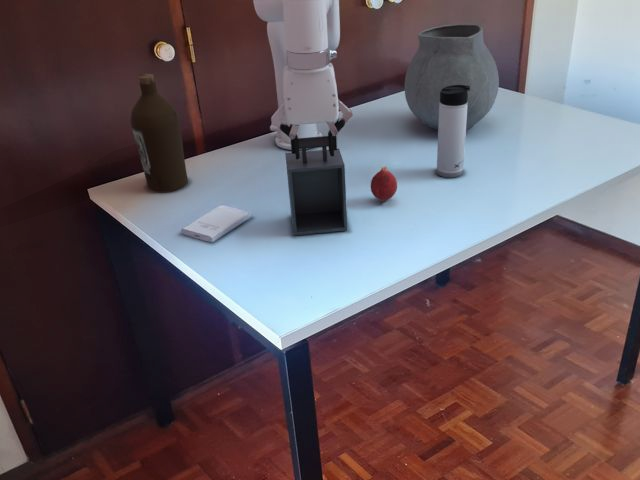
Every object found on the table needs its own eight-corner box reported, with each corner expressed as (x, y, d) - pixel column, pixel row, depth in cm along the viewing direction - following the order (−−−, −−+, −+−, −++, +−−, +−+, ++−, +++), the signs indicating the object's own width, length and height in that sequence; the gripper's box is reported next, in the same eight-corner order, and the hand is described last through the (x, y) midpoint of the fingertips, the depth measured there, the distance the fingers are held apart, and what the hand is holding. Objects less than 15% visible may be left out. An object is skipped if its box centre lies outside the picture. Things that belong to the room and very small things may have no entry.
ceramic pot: (433, 106, 206) (436, 13, 191) (510, 120, 194) (520, 22, 179) (387, 132, 190) (386, 33, 175) (467, 149, 179) (474, 45, 164)
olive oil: (184, 172, 173) (164, 66, 158) (195, 187, 166) (176, 78, 151) (141, 180, 170) (116, 73, 155) (150, 197, 162) (125, 86, 147)
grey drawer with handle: (283, 129, 141) (285, 145, 133) (338, 125, 142) (343, 140, 134) (291, 216, 152) (294, 235, 144) (342, 211, 153) (347, 230, 145)
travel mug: (463, 178, 164) (469, 91, 152) (435, 177, 166) (438, 90, 154) (465, 168, 169) (471, 82, 157) (437, 166, 170) (441, 81, 158)
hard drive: (250, 218, 152) (212, 243, 143) (221, 211, 155) (182, 234, 147) (249, 211, 151) (211, 236, 142) (220, 204, 154) (181, 227, 146)
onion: (397, 207, 154) (397, 172, 149) (371, 207, 154) (370, 172, 149) (396, 195, 158) (396, 161, 154) (370, 196, 159) (370, 162, 154)
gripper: (352, 50, 131) (355, 144, 142) (259, 57, 130) (269, 152, 141) (358, 61, 125) (360, 158, 136) (260, 68, 124) (271, 166, 135)
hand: (314, 154), depth 138 cm, fingers closed on grey drawer with handle, 6 cm apart
